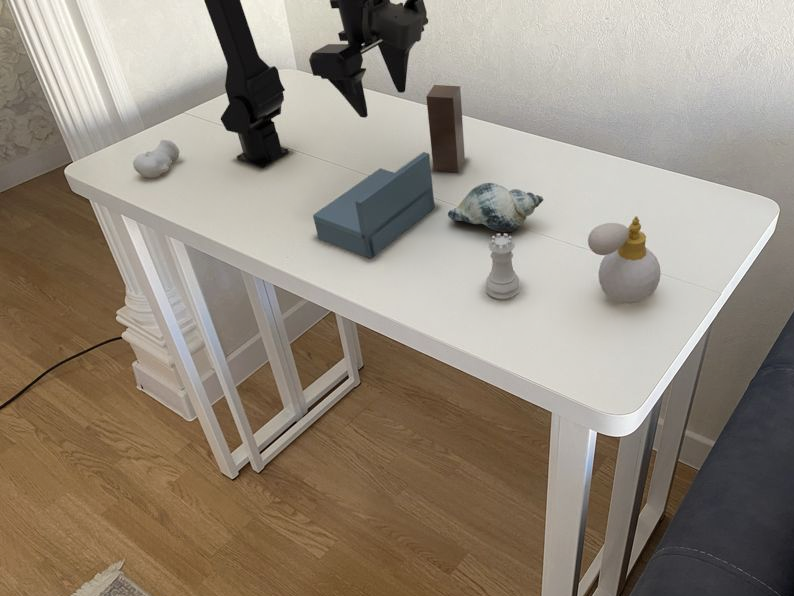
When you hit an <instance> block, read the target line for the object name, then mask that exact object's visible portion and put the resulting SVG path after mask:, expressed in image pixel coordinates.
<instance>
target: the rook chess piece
mask: <svg viewBox="0 0 794 596" xmlns="http://www.w3.org/2000/svg"><path fill="white" fill-rule="evenodd" d="M515 247H516V244H515V242H514V241H513V239H512V235H509V234H508V233H506V232H503V236H502V235H501V232H499V233H495V235H492V236H491V239H490V242H489V243H488V247H487V248H488V249H489V250H490V251H491V253H490V259H491V260H492V264H491V270H490V272H489V273H488V275H487V277H486V280H485V291H486V293H487V294H488V295H489V296H491V297H492V298H493V299H496V300H509V299H512V298H514V297H515V296H516V295H517V294H518V293H519V292H520V290H521V285H520V278H519V276H518V275H517V273H516V271H515V270H514V266H513V258H514V253H513V250H514V249H515Z"/></svg>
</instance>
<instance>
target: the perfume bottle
mask: <svg viewBox="0 0 794 596" xmlns="http://www.w3.org/2000/svg"><path fill="white" fill-rule="evenodd" d="M641 229H642V224H641V223H640V219H639V217H638V216H634V218H633V219H632V221H631V223H630V224H629V226H628V227H627V226H626V225H624V224H621V223H619V222H606V223H602V224H599V225H598V226H595V227H594V228H593V229H592V230H591V231H590V233H588V238H587V245H588V247H589V249H590V250H591V252H593V253H594V254H596V255H598V256H603V258H602V260H601V262H600V264H599V269H598V282H599V285H600V288H601V289H602V291H603V293H604V294H605V295H606V296H607V297H608V298H610V299H611V300H612V301H613V302H616V303H620V304H625V305H633V304H639V303H641V302H643V301H645V300H647V299H649V298H650V297H651V296H652V295H653V294H654V293H655V291H656V290H657V288H658V286H659V283H660V280H661V275H662V274H661V265H660V262H659V260H658V258H657V256H656V255H655V254H654V253H653V252H652V251H651V250H650V249H648V247H646V241H647V235H646V234H645V233H644V232H643V231H640V230H641Z"/></svg>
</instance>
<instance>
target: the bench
mask: <svg viewBox="0 0 794 596" xmlns="http://www.w3.org/2000/svg"><path fill="white" fill-rule="evenodd" d="M430 159H431V158H430V153H429V152H426V151H423V152H421V153H420V154H419V155H417V156H416V157H415V158H414V159H412V160H410V161H408V162H407V163H406V164H405V165H403V166H402V167H400V168H399V169H398V170H397V171H395V172H393V171H390V170H388V169H384V168H382V167H381V168H378V169H377V170H376V171H374V172H373V173H371V174H369V175H368V176H367V177H365V178H364V179H362V180H361V181H360V182H358V183H357V184H355V185H354V186H352V187H351V188H350V189H348V190H347V191H345V192H344V193H342V194H341V195H339V196H338V197H336V198H335V199H334V200H332V201H330V202H329V203H328V204H327V205H325V206H324V207H322V208H321V209H319V210H318V211H317V212H315V213H313V214H312V217H313V221H314V225H315V230H316V236H317V238H318V239H319V240H321V241H324V242H327V243H329V244H332V245H334V246H336V247H339V248H341V249H345V250H347V251H349V252H352V253H354V254H357V255H359V256H363V257H365V258H368V259H370V260H371V259H373V258H374V257H375V256H376V255H378V254H379V253H380V252H382V251H383V250H385V248H386V247H387V246H389V245H390V244H392V243H393V242H394V241H395V240H396V239H398V238H399V237H401V235H403V234H404V233H405V232H406V231H408V230H409V229H410V228H411V227H413V226H414V225H415V224H416V223H418V222H419V221H420V220H421V219H423V218H424V217H425V216H426V215H427V214H429V213H430V212H431V211H433V210H434V209H435V199H434V197H435V196H434V189H433V179H432V169H431V168H432V167H431V160H430Z"/></svg>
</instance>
